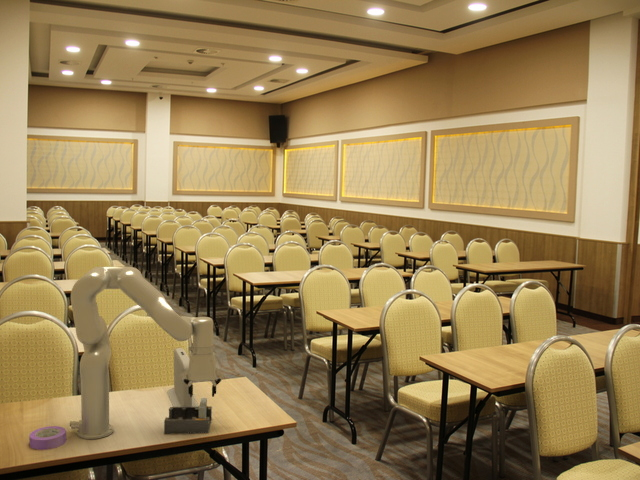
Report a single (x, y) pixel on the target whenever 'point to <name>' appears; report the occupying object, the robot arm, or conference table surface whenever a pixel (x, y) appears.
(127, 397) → the conference table surface
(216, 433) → the conference table surface
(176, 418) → the rack
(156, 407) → the conference table surface
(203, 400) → the panel
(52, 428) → the masking tape
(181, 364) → the wireless router
